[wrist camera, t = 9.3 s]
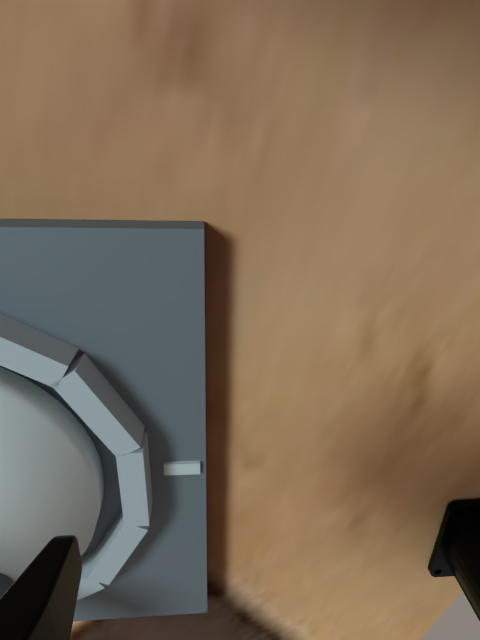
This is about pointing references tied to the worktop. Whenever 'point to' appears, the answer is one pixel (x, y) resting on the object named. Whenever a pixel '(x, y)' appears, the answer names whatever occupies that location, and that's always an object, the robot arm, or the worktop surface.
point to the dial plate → (122, 391)
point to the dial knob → (42, 476)
